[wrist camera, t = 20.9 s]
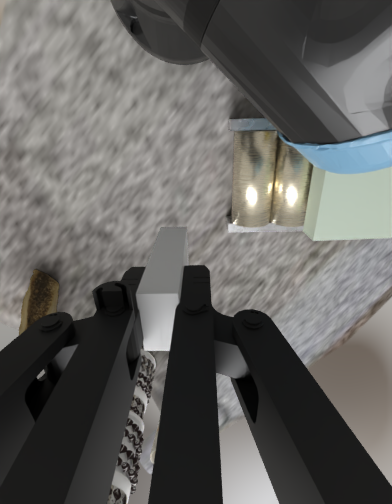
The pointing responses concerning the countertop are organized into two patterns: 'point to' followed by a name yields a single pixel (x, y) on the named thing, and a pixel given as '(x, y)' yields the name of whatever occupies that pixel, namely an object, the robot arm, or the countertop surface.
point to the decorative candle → (133, 435)
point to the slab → (349, 205)
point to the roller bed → (267, 180)
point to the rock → (39, 299)
